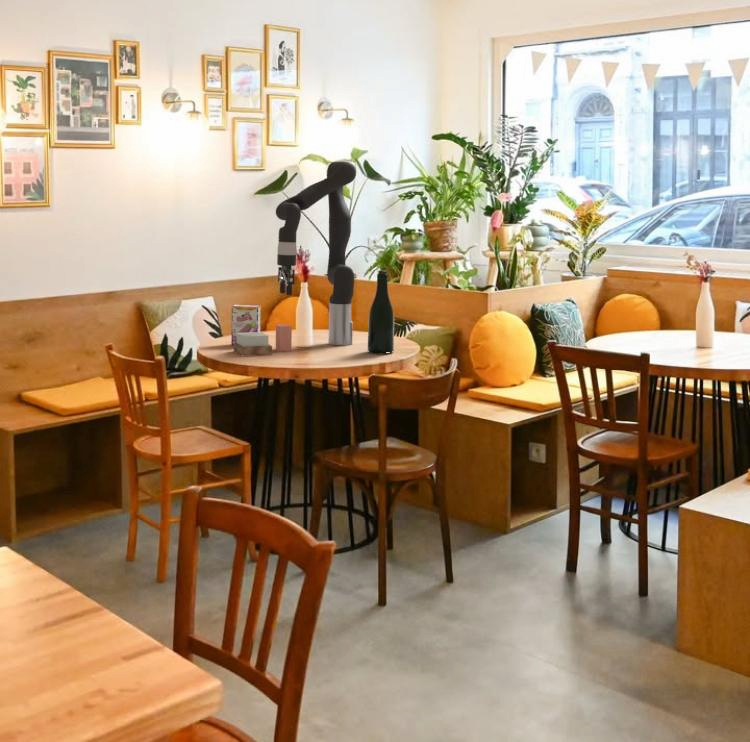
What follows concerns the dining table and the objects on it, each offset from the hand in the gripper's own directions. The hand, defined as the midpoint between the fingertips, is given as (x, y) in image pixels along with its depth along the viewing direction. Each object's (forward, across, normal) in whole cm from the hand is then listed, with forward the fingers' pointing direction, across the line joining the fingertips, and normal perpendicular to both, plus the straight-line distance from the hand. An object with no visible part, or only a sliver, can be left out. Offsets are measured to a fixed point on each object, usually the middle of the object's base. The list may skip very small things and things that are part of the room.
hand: (285, 294), depth 429 cm
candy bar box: (+23, +15, +12) cm, 30 cm away
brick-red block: (+22, -1, 0) cm, 22 cm away
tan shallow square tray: (+23, -5, +14) cm, 28 cm away
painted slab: (+19, -5, +15) cm, 25 cm away
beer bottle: (+22, -16, -36) cm, 45 cm away
